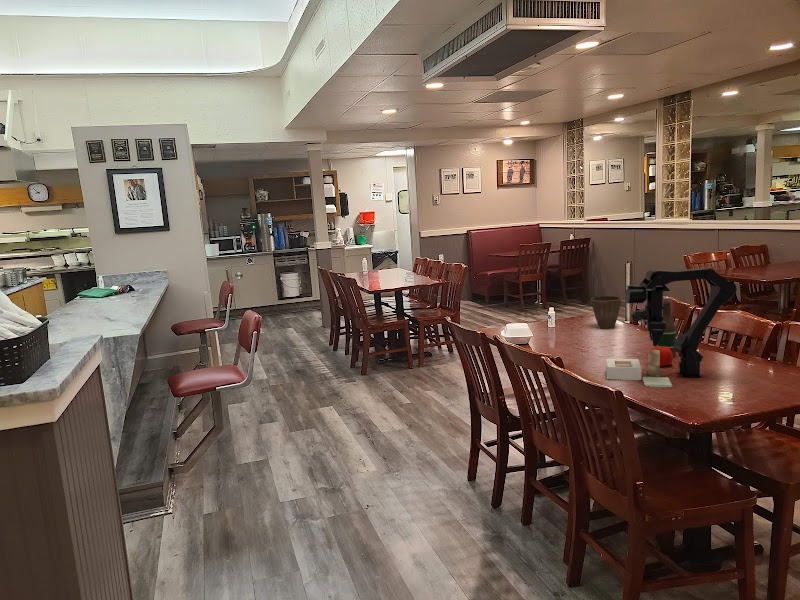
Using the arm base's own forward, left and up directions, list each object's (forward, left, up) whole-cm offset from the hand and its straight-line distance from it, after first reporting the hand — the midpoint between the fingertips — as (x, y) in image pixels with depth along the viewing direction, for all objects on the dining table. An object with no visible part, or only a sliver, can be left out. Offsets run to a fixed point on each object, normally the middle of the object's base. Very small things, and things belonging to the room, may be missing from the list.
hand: (653, 343), depth 215 cm
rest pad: (0, +9, -13) cm, 16 cm away
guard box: (+11, 0, -13) cm, 17 cm away
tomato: (-4, -16, -13) cm, 21 cm away
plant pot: (+14, -86, -13) cm, 88 cm away
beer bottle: (-8, -30, -13) cm, 34 cm away
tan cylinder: (0, 0, -13) cm, 13 cm away
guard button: (+11, 0, -10) cm, 15 cm away
